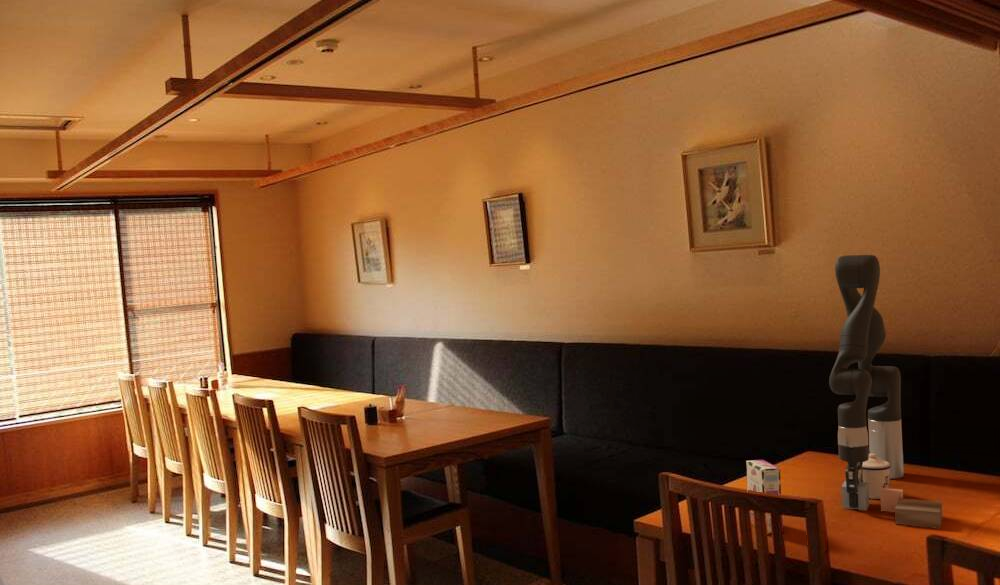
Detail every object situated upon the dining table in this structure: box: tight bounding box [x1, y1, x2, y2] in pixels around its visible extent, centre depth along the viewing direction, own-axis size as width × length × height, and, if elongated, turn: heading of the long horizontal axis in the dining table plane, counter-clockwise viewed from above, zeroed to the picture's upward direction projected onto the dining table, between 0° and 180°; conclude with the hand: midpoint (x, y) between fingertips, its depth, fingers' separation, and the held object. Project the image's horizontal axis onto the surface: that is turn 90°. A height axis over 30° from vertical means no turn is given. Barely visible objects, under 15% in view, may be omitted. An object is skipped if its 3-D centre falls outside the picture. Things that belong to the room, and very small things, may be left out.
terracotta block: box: [880, 488, 904, 513], centre depth 229 cm, size 5×5×5 cm
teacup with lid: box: [862, 453, 891, 500], centre depth 244 cm, size 12×9×12 cm
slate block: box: [841, 480, 870, 511], centre depth 234 cm, size 6×6×6 cm
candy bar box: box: [745, 459, 782, 535], centre depth 220 cm, size 11×5×16 cm, turn 5°
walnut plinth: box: [894, 497, 943, 529], centre depth 219 cm, size 10×10×4 cm
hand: (855, 503), depth 234 cm, fingers closed on slate block, 6 cm apart
